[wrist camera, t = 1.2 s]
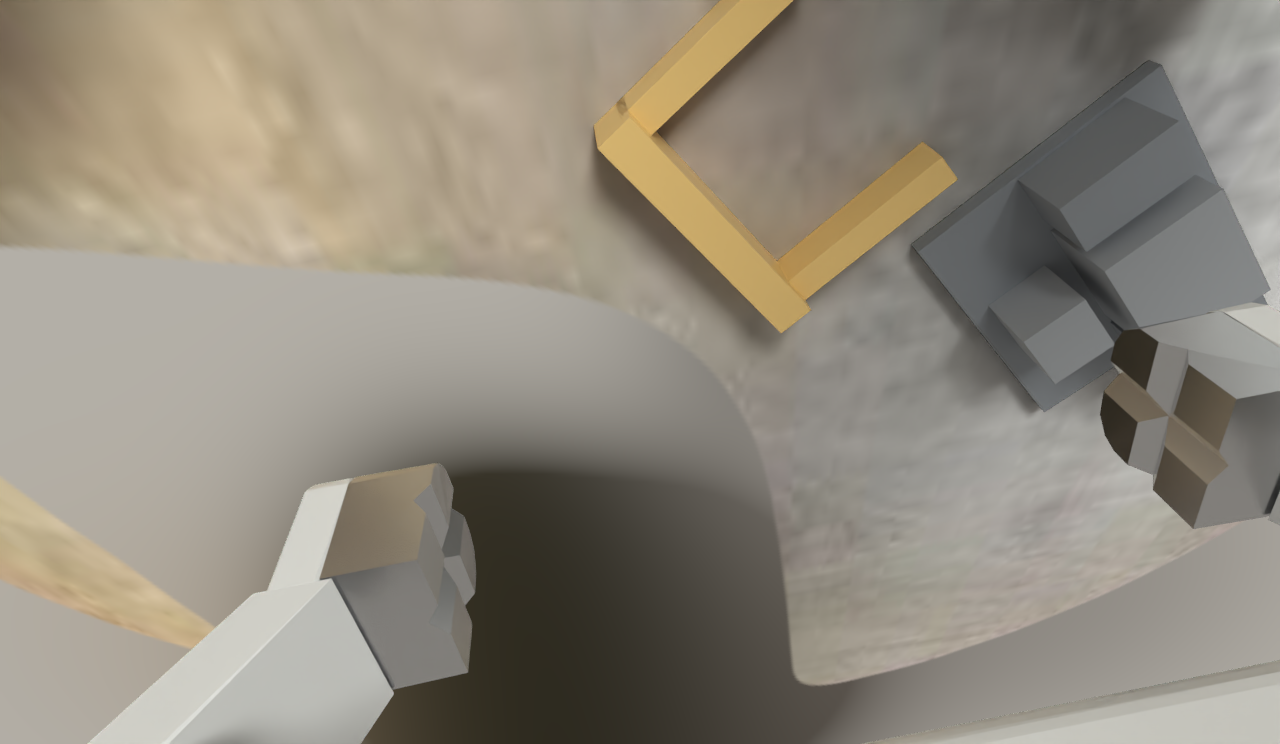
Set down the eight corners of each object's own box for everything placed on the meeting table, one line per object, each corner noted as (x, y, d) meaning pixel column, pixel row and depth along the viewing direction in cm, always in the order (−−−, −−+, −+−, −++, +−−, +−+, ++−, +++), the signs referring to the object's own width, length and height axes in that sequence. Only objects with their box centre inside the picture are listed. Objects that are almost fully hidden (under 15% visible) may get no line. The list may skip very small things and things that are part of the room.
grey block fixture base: (1148, 60, 38) (1237, 91, 33) (1246, 264, 46) (1331, 314, 41) (911, 244, 43) (958, 296, 38) (1036, 403, 50) (1089, 463, 45)
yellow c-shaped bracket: (780, -60, 34) (801, -51, 31) (937, 163, 40) (967, 187, 38) (593, 125, 38) (597, 148, 35) (765, 301, 44) (781, 333, 41)
